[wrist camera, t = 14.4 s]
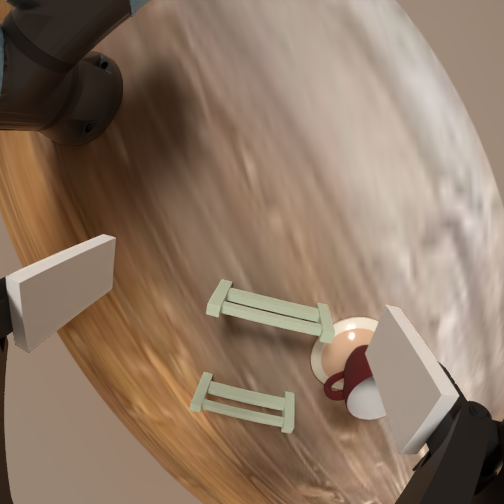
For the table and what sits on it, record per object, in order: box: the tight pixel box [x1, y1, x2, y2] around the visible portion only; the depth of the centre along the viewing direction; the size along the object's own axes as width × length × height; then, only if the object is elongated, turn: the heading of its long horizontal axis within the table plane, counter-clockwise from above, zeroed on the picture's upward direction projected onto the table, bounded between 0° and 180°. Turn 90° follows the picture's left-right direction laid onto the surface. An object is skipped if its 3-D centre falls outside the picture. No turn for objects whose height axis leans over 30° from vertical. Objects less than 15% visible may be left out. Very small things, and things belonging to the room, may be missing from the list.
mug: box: [324, 345, 387, 420], centre depth 38 cm, size 11×8×10 cm
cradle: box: [190, 279, 335, 434], centre depth 41 cm, size 15×18×8 cm
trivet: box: [311, 316, 379, 390], centre depth 43 cm, size 13×13×1 cm
